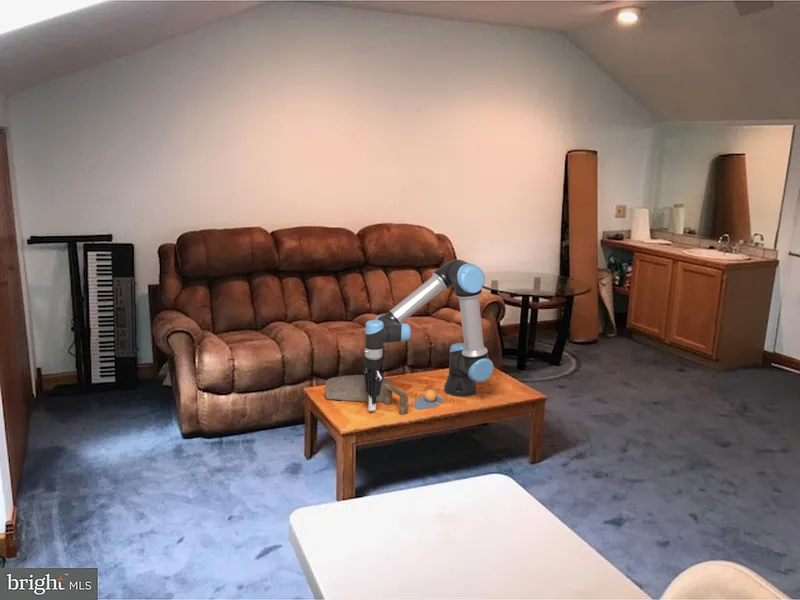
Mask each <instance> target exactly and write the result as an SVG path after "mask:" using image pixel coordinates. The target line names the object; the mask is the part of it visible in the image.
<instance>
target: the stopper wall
mask: <svg viewBox="0 0 800 600" xmlns="http://www.w3.org/2000/svg"><path fill="white" fill-rule="evenodd" d="M434 401H435V402H436V403H438V404H440V405H442V404H445V403H444V402H445V398H444V397H442V396H441V395H439V394H437V393H436V399H435V400H434Z"/></svg>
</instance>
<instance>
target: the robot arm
mask: <svg viewBox="0 0 800 600" xmlns="http://www.w3.org/2000/svg"><path fill="white" fill-rule="evenodd" d="M431 275H432V276H431V277H430V278H428V280H426V281H425V282H424V283H422V284H421V285H420V286H419V287H418V288H416V289H415V290H414V291H413V292H411V293H409V295H407V296H406V297H405V298H404V299H403V300H401V301H400V302H399V303H398V304H397V305H395V306H394V307H393V308H392V309H391V310H390V309H389V311H388V312H387V313H386V314H378V315H377V316H376V317H375V319H370V320H368V321H366V323H365V328H364V361H363V362H364V367H366V368H363V369H362V371H363V375H364V378H365V389H366V392H368V395H369V402H368V408H367V409H368V411H370V412H371V411H376V408H377V407H376V405H377V402H376V396H379V395H380V389H381V384H382V380H383V379H384V376H383V375H382V376H381V370H380V369H381V367H383V354H384V353H383V352H384V351H383V349H384V344H387V343H402V342H407V341H410V339H411V336H412V330H411V326H410V325H409V324H408V323H404V322H405V321H406V320H408V319H409V318H410V317H411V316H413V314H415V313H416V312H417V311H418V310H420V309H421V308H422V307H423V306H425V305H426V304H427V303H428V302H430V301H431V300H433V299H434V297H436V296H437V295H438V294H439V293H441V292H443V291H447V290H448V289H449V288H452V287H453V288H454V296H455V297H456V298H458V301H459V310H460V318H461V326H462V336H463V342H459V343H456V342H455V343H453V344H451V346H450V348H449V360H448V361H449V365H448V376H447V378H446V381H445V384H444V385H443V386H444V388H443V391H444V393H446V394H448V395H451V396H453V397H454V396H455V397H471V396H475V394H476V393H477V385H476V383H483V382H486V381H487V380H489V379H490V377H491V376H492V375H493V374H494V370H495V369H494V368H495V367H494V363H493V361H492V360H491V359H490V358H489V351H488V350H489V349H488V348H486V347H485V345H484V337H483V335H484V333H483V325H482V318H481V317H482V315H481V308H480V307H481V306H480V295H481V294H482V289H483V286H484V285H485V282H486V277H485V276H486V275H485V274H484V271H483V270H482V269H481V268H480V267H479V266H477V264H474V263H470V262H467V261H465V260H462V259H453V260H450V261H448V262H446V263H445V264H443V265H442V266H440V267H439V268H437V269H436V270H435V271H434V272H433V273H432V274H431Z"/></svg>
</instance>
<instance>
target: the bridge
mask: <svg viewBox="0 0 800 600" xmlns="http://www.w3.org/2000/svg"><path fill="white" fill-rule="evenodd" d="M393 393H394V394H396V395H397V396H399V403H398V405H399V410H398V414H400V416H404V415H409V414H408V413H409V411H408V410H409V409H408V408H409V404H408V399H409V393H408V392H406V391H405V390H403V389H401V388H399V387H397V386H396V385H394V384H392V382H391V383H389V384H384V402H383V404H384V405H385V406H390V405H392V403H393ZM389 404H390V405H389Z"/></svg>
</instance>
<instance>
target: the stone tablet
mask: <svg viewBox="0 0 800 600" xmlns="http://www.w3.org/2000/svg"><path fill="white" fill-rule="evenodd" d="M389 383H391V384H392V381H391V380H389V379H387V378H383V380H382V384H381V389H380V395H379V396H376V403H384V384H389ZM325 385H326V387H325V390H324V391H325V398H326V400H336V401H344V402H346V401H347V402H349V401H351V402H352V401H353V402H355V401H356V402H368V403H369V395H368V392H366V389H365V378H364V374H353V375H352V374H351V375H341V376H335V377H330V378H328V379H327V380H326V384H325Z"/></svg>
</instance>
